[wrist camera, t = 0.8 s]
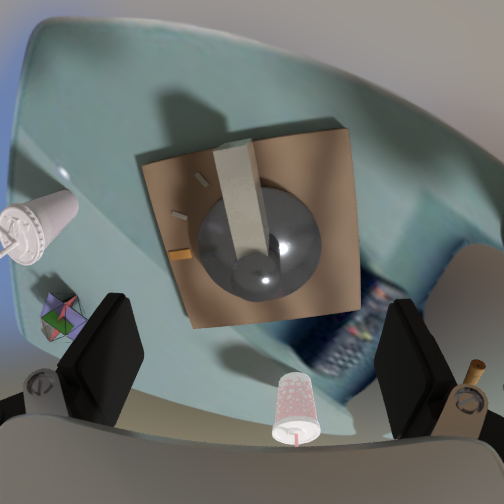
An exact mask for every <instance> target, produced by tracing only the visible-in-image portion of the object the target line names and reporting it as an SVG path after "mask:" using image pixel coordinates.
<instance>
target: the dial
mask: <svg viewBox="0 0 504 504" xmlns="http://www.w3.org/2000/svg"><path fill="white" fill-rule="evenodd" d="M213 155H214V159H215V164H216V168H217V173H218V177H219V182H220V186H221V191H222V195H223V197H221V198H220V199H219V200H218V201H217V202H216V203H215V204H214V205H213V206H212V207H211V209H210V210H209V212H208V213H207V215H206V217H205V218H204V220H203V222H202V225H201V227H200V231H199V236H198V251H199V256H200V259H201V262H202V265H203V267H204V269H205V271H206V272H207V274H208V275H209V276H210V278H211V279H212V280H213V281H214V282H215V283H216V284H217V285H218V286H220V287H221V288H222V289H224V290H225V291H227V292H229V293H230V294H232V295H235V296H237V297H240V298H242V299H244V300H246V301H250V302H263V301H268V300H274V299H279V298H282V297H285V296H287V295H290V294H292V293H293V292H295V291H297V290H298V289H299V288H301V287H302V286H303V285H304V284H305V283H306V282H307V281H308V280H309V279H310V278H311V276H312V275H313V273H314V272H315V270H316V268H317V266H318V263H319V260H320V256H321V249H322V245H321V236H320V231H319V228H318V225H317V222H316V220H315V218H314V216H313V214H312V212H311V211H310V209H309V208H308V207H307V206H306V205H305V204H304V202H303V201H301V200H300V199H299V198H298V197H296V196H295V195H293V194H292V193H290V192H288V191H286V190H284V189H281V188H278V187H274V186H269V185H261V184H260V179H259V173H258V168H257V163H256V158H255V152H254V147H253V142H252V138H249V139H244V140H238V141H233V142H228V143H223V144H222V145H221V146H219V147H218V148H217V149H215V150H214V151H213Z"/></svg>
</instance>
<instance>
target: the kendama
mask: <svg viewBox="0 0 504 504" xmlns="http://www.w3.org/2000/svg"><path fill="white" fill-rule="evenodd" d="M485 368H486V365H485V364H484V362H482V361H480V360H477V359H476V360H475V359H474V360H472V361H471V364H470V366H469V369H468V372H467V375H466V377H465V379H464V382H463V384H471V385H476V383H477V382H478V380H479V378H480V377H481V375H482V373H483V372H484V370H485Z"/></svg>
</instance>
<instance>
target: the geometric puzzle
mask: <svg viewBox="0 0 504 504" xmlns="http://www.w3.org/2000/svg"><path fill="white" fill-rule="evenodd" d="M58 294H60V293H58ZM73 295H75V294H73ZM76 295H77V294H76ZM76 295H75V296H73V297H71V299H70V298H69V299H70V300H68V299H67V300H68V301H67V302H66V303H65V302H64V301H62V302H61V300H60V299H59V300H58V298H57V297H55V296H54V295H52V294H51V293H49V294H48V297H47V299H46V302H45V304H44V307H43V310H42V312H41V315H40V321H41V331H42V332H43V334H44V335H45V336H46V338H47V339H48V340H49V342H51V341H52V340H53V341H54V339H55V338H56V337H57V335H58V334H59V333H60V332H61V333H62V334H64V335H65V336H66V335H67V337H68V338H69V337H70V339H72V340H73V341H74V339H75V338H76V336H77V335H78V334H79V332H80V331H81V329H82V328H83V327H84V325H85V324H86V322H87V321H88V319H86V318H85V317H83V316H82V315H81V314H82V312H81V314H79V313H78V312H77V311H75V310H74V309H73V308H71V307H72V304H73V302H74V300H75V298H76ZM77 298H78V296H77ZM65 301H66V300H65ZM78 302H79V301H78ZM80 304H81V303H80ZM79 306H80V305H79ZM72 309H73V310H72ZM80 310H81V309H80ZM83 311H84V310H83ZM84 313H85V312H84ZM45 321H46V322H47V323H48V324H50V325H51V326H50V325H48V324H47V323H46V322H45ZM63 337H64V336H63ZM60 338H62V337H60ZM58 339H59V338H58ZM55 340H56V339H55ZM66 343H70V342H66Z"/></svg>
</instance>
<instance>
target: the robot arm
mask: <svg viewBox="0 0 504 504" xmlns="http://www.w3.org/2000/svg"><path fill="white" fill-rule="evenodd" d="M143 359H144V350H143V346H142V343H141V340H140V336H139V333H138V329H137V326H136V322H135V318H134V315H133V311H132V307H131V303H130V300H129V298H126V296H125V295H124V294H123V293H108V294H107V295H106V297H105V298H104V299H103V301H102V302H101V303H100V305H99V306H98V307H97V309H96V310H95V311H94V313H93V314H92V315H91V317H90V318H89V320H88V321H87V322H86V324H85V325H84V327H83V328H82V329H81V331H80V332H79V334H78V335H77V336H76V338H75V339H74V341H73V342H72V344H71V345H70V347H69V348H68V349H67V351H66V352H65V354H64V355H63V357H62V358H61V360H60V362H59V363H58V364H57V366H58V368H57V370H56V371H54V370H51V369H47V368H43V369H38V370H36V371H34V372H32V373H31V374H30V375H29V376H28V377H27V378H26V379H25V381H24V384H23V392H21V393H19V394H16V395H13V396H11V397H8V398H6V399H3V400H1V401H0V504H504V417H502V416H500V415H498V414H496V413H494V412H492V411H490V410H488V400H487V397H486V395H485V393H484V392H483V391H482V390H481V389H480V388H478V387H476V386H475V385H471V384H460V385H457V383H456V381H455V379H454V376H453V374H452V372H451V370H450V368H449V366H448V364H447V362H446V360H445V358H444V356H443V354H442V352H441V350H440V348H439V346H438V344H437V343H436V341H435V339H434V337H433V336H432V334H430V332H429V330H428V329H427V326H426V325H425V323H424V321H423V319H422V317H421V316H420V314H419V312H418V310H417V308H416V307H415V305H414V303H413V301H412V300H411V299H396V300H395V301H394V303H391V304H390V305H389V307H388V311H387V315H386V319H385V323H384V327H383V330H382V334H381V337H380V341H379V344H378V348H377V351H376V355H375V358H374V367H375V371H376V374H377V378H378V381H379V384H380V388H381V392H382V395H383V400H384V403H385V407H386V411H387V415H388V419H389V423H390V427H391V431H392V435H393V438H394V439H398V440H391V441H383V442H374V443H362V444H350V445H336V446H314V447H313V446H312V447H268V446H242V445H228V444H217V443H206V442H197V441H189V440H182V439H173V438H168V437H161V436H155V435H149V434H144V433H139V432H134V431H128V430H124V429H119V428H115V427H114V426H115V424H116V422H117V420H118V417H119V415H120V413H121V410H122V408H123V406H124V403H125V401H126V398H127V396H128V394H129V392H130V389H131V387H132V385H133V382H134V380H135V378H136V376H137V373H138V371H139V369H140V366H141V364H142V362H143Z"/></svg>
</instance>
